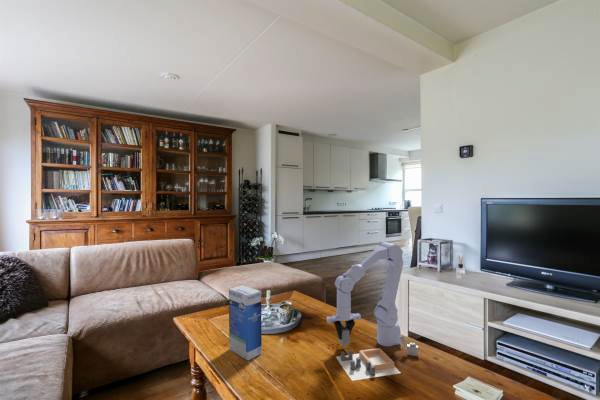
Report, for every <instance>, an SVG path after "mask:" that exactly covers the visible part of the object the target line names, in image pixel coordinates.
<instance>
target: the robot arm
mask: <svg viewBox="0 0 600 400" xmlns="http://www.w3.org/2000/svg"><path fill="white" fill-rule="evenodd" d="M403 254H404V251H403V249H402V248H401V247H400V245H398V244H396V243H395V244H394V243H390V242H387V241H380V242H379V244H378V245H376V246H375V248H374V250H373V251H371V252H370V253H369V254H368V256H366V258H364V259H363V261H361V262H360V263H356V264H352V265H351V266H350V268H349V269H348V270H347V271H345V272H344V273H342V275H339V276H338V277H336V279H335V281H334V282H333V283H334V286H335V288H336V314H333V315H329V316H326V322H327V324H331V323H333V325H334V327H335V329H336V333H337V339H338V338H339V339H340V340H341V338H342V325H343V324H342V322H345V326H346V327H347V328H348V329H349V331H350V335H351V333H352V330H353V328H354V327H355V324H356V322H355V320H358V321H361V320H362V316H361V314H360V313H352V312H351V311H352V308H351V307H352V304H351V303H352V297H351V292H352V291H353V289H354V286H355V284H357V283H358V281H360V280H361V279H362V278H363V277H364V276H365V275H366V270H368V269H369V268H371V267H372V266H373V265H374V264H376V263H377V262H378V261H379V260H386V262H387V263H388V269H387V275H386V280H385V284H384V288H383V291H382V292H383V294H382V296H381V297H382V298H381V299H380V300H379V301H377V305H376V307H374V311H373V314H374V317H375V318H376V343H377V344H378V345H380V346H382V347H392V346H395V345H401V340H400V337H399V336H400V335H402V334H401V326H400V325H399V323H398V320H399V316H398V313H399V312H398V310H399V309H398V307H397V306H396V299H397V295H398V290H399V285H400V280H401V276H402V272H403V266H404V260H403Z"/></svg>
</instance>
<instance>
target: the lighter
mask: <svg viewBox="0 0 600 400" xmlns="http://www.w3.org/2000/svg"><path fill="white" fill-rule="evenodd" d="M399 337H400V343H402V346H403V347H404V348H405V347H406V355H407V356H412V357H419V345H417V344H416V343H415V342H410V343H407V341H406V339H405V337H404V334H401V335H400V336H399Z"/></svg>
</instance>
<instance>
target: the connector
mask: <svg viewBox="0 0 600 400" xmlns="http://www.w3.org/2000/svg"><path fill="white" fill-rule="evenodd" d="M350 338H351V334H350V331H349V329H348V328H347V327H346V324H342V338H341V340H340V339H339V338H338V337H337V341H338V342H339V343H340V345H341V346H342V347H346V346H350V344H351V343H350V341H351V340H350Z"/></svg>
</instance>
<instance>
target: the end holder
mask: <svg viewBox="0 0 600 400" xmlns="http://www.w3.org/2000/svg"><path fill="white" fill-rule="evenodd" d="M358 354H359V356H360V357H361V358H362V360H363V361H364V362H365V363H366V361H370V362H371V360H370V359H369V358H368V357H367V356H370V355H378V354H379V355H380V356H381V357H382V358H383V359H384V360H385V361H386V362H383V363H376V364H373V363H372V362H371V366H374V367H375V371H377V370H383V369H390V368H394V367H395V361H393V359H391V358H390V357H389V355H387V353H386V352H385V351H383V349H382V348H380V347H377V348H370V349H369V348H368V349H361V350H359V351H358Z"/></svg>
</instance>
